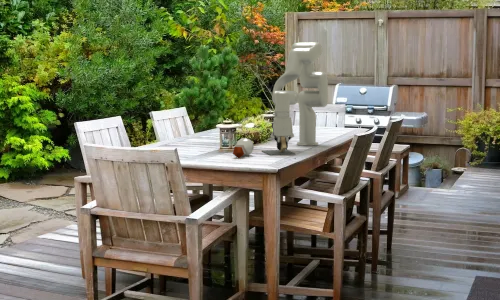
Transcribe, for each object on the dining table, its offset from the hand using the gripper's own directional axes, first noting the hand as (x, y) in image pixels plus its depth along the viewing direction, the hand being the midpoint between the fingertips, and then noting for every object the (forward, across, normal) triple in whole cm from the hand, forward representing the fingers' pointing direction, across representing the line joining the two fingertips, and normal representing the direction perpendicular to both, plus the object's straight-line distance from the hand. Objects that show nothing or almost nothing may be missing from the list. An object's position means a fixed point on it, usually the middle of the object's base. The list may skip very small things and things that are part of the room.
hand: (282, 149), depth 381 cm
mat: (+2, -2, +1) cm, 3 cm away
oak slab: (-1, 0, +2) cm, 2 cm away
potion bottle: (+3, -23, -6) cm, 24 cm away
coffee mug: (+2, +19, +65) cm, 68 cm away
